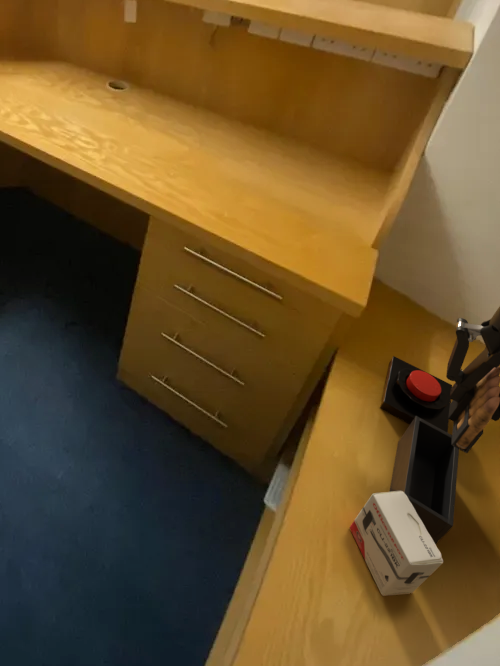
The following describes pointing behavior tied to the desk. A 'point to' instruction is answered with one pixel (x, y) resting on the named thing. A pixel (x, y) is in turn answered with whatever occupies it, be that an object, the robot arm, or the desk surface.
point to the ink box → (395, 543)
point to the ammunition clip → (477, 412)
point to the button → (423, 386)
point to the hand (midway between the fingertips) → (462, 418)
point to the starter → (413, 397)
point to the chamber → (427, 475)
